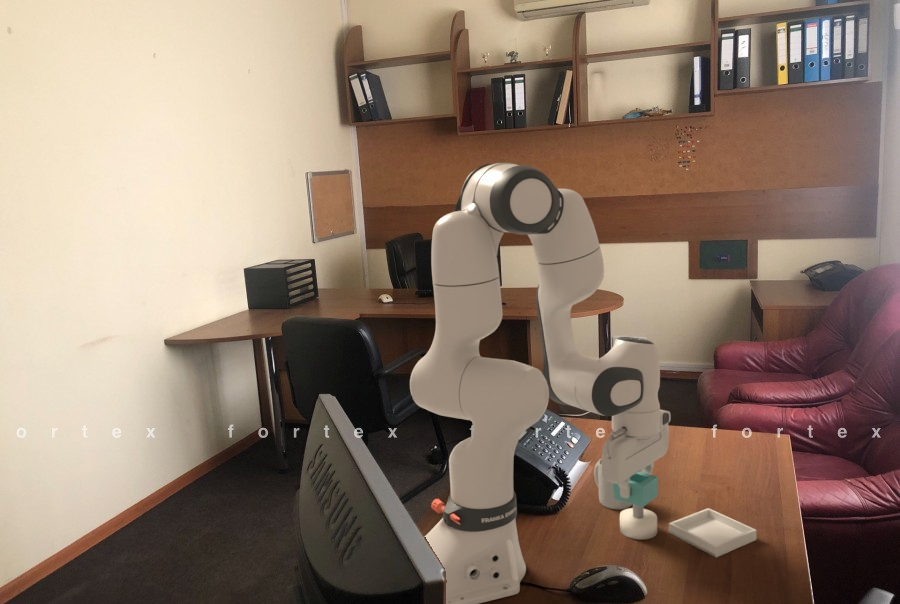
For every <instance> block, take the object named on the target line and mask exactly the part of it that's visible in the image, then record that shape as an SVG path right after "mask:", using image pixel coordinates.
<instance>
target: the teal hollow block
mask: <svg viewBox="0 0 900 604" xmlns="http://www.w3.org/2000/svg"><path fill="white" fill-rule="evenodd" d="M628 483H629V486H630V487H632V496H630V497H629V498H623V497H621V496H620V487H619V485H618V484H615V483H613V492H614V499H617V500H621V501H624V502H628V503H631V504H632V505H633V504H635V505H638V506H641V507H645V506H646V505H648V504H649V503H650V502H652V501H653V500H655V499H656V498H657V497H659V477H658V476H657V475H653V474H651V475H650V474H646V473H642V472H641V471H639V472H637V473H636V474H634V475H633V476H631V477H630V481H629V482H628Z"/></svg>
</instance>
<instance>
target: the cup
mask: <svg viewBox="0 0 900 604" xmlns="http://www.w3.org/2000/svg"><path fill="white" fill-rule="evenodd" d="M601 463H602V457H601V458H600V459H598V461H597V462H596V463H595V465H594V470H593V475H594V477H593V478H594V481H595V484H596V487H597V488H598V500H599V501H598V502H599V503H600V505H602V506H603V507H604V508H606V509H611V510H625V509H629V508H630V507H631V506H633V504H631V503H628V502H624V501H621V500H617V499H614V492H613V483H611V482H607V481H604V480H603V478H602V476H601Z"/></svg>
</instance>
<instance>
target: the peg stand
mask: <svg viewBox="0 0 900 604" xmlns="http://www.w3.org/2000/svg"><path fill="white" fill-rule="evenodd" d="M644 507H645V506H644ZM644 507H641V506H638V505H635V504H632V507H631V508H630V507H629V508H626V509H622V510H621V511H620V513H619V532H620V533H621V534H622V535H623V536H625V537H626V538H629V539H633V540H643V541H644V540H649V539H652V538H654V537H656V536H657V534H658V516H657V514H656V512H653V511H652V510H649V509H647V508H644Z"/></svg>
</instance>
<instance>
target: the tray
mask: <svg viewBox="0 0 900 604" xmlns="http://www.w3.org/2000/svg"><path fill="white" fill-rule="evenodd" d="M757 531H758V530H757V529H755V528H754V527H751V526H749V525H747V524H744V523H743V522H741V521H738V520H735V519H734V518H731V517H729V516H727V515H725V514H723V513H720V512H718V511H716V510H714V509H711V508H710V507H708V508H705V509H702V510H700V511H697V512H694V513H691V514H689V515H686V516H684V517H681V518H679V519H677V520H673V521H672V522H669V523H668V534H670V535H672V536H673V537H676V538H678V539H679V540H682V541H684V542H685V543H688V544H689V545H691V546H693V547H695V548H697V549H698V550H700V551H703V552H704V553H707V554H708V555H709V556H711V557H714V558H718V557H721V556H723V555H725V554H728V553H730V552H731V551H734V550H737V549H738V548H741V547H743V546H746V545H748V544H750V543H753V542H754V541H757Z"/></svg>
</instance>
